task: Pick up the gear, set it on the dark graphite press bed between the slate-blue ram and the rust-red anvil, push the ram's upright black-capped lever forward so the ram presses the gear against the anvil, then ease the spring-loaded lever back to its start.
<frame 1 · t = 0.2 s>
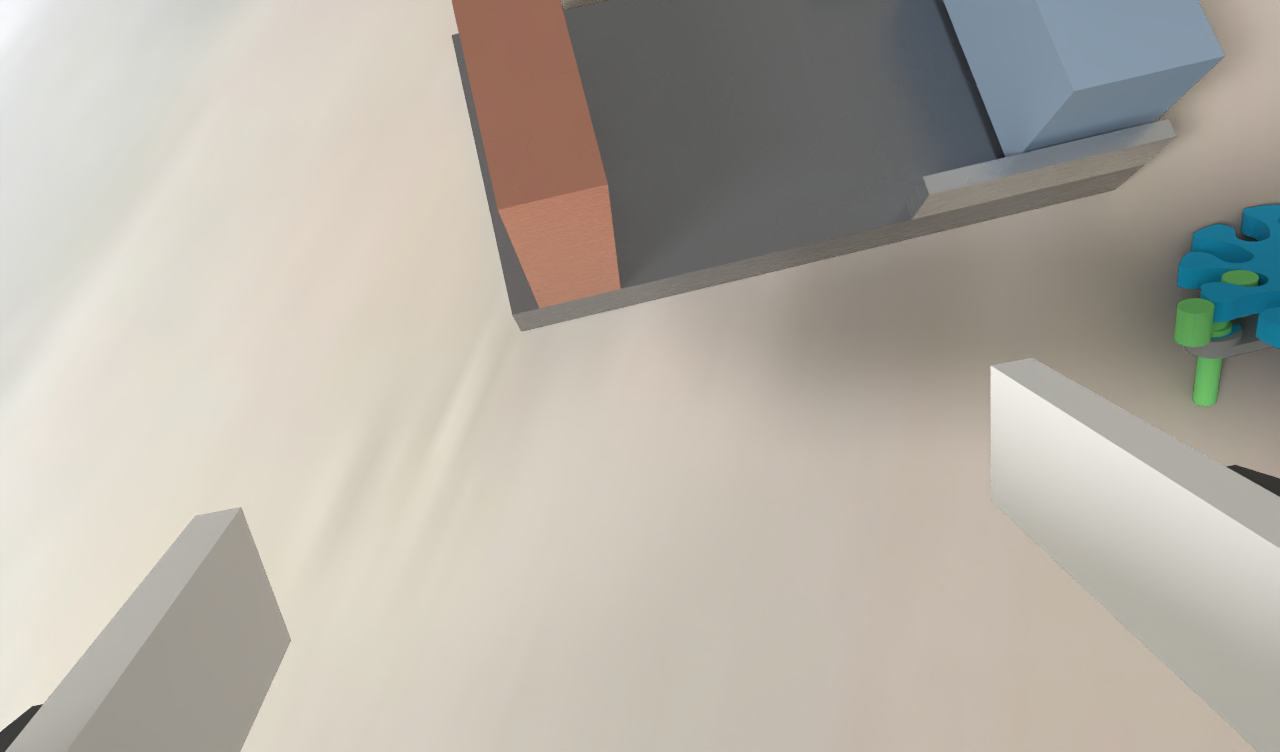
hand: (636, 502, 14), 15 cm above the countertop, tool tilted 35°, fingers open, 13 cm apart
gear: (1256, 312, 31), on the countertop
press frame: (779, 126, 33), on the countertop
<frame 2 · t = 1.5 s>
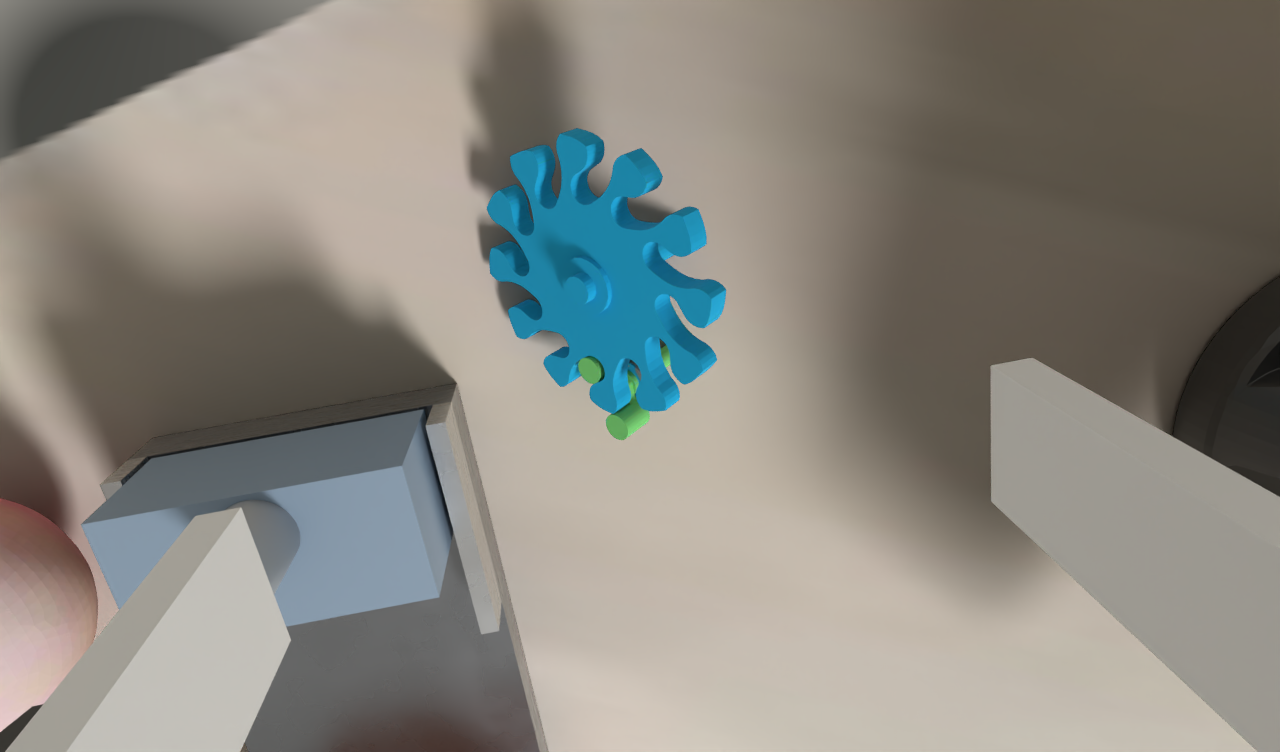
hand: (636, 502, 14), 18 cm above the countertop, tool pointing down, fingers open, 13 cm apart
gear: (594, 270, 32), on the countertop
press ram: (231, 623, 23), point 10 cm above the countertop, slide at 0.0 cm
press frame: (384, 655, 36), on the countertop
decorative fruit: (44, 544, 33), on the countertop
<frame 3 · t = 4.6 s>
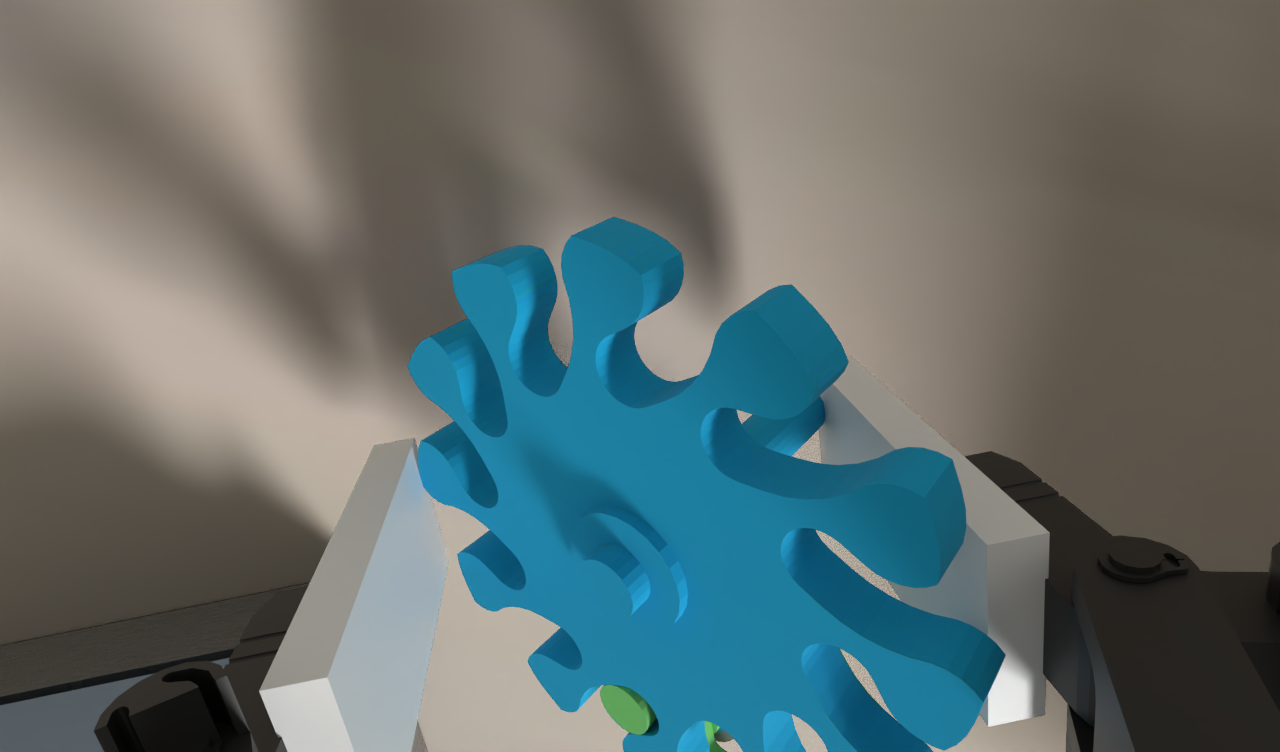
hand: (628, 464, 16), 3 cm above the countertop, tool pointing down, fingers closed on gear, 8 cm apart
gear: (630, 464, 16), point 3 cm above the countertop, touching gripper
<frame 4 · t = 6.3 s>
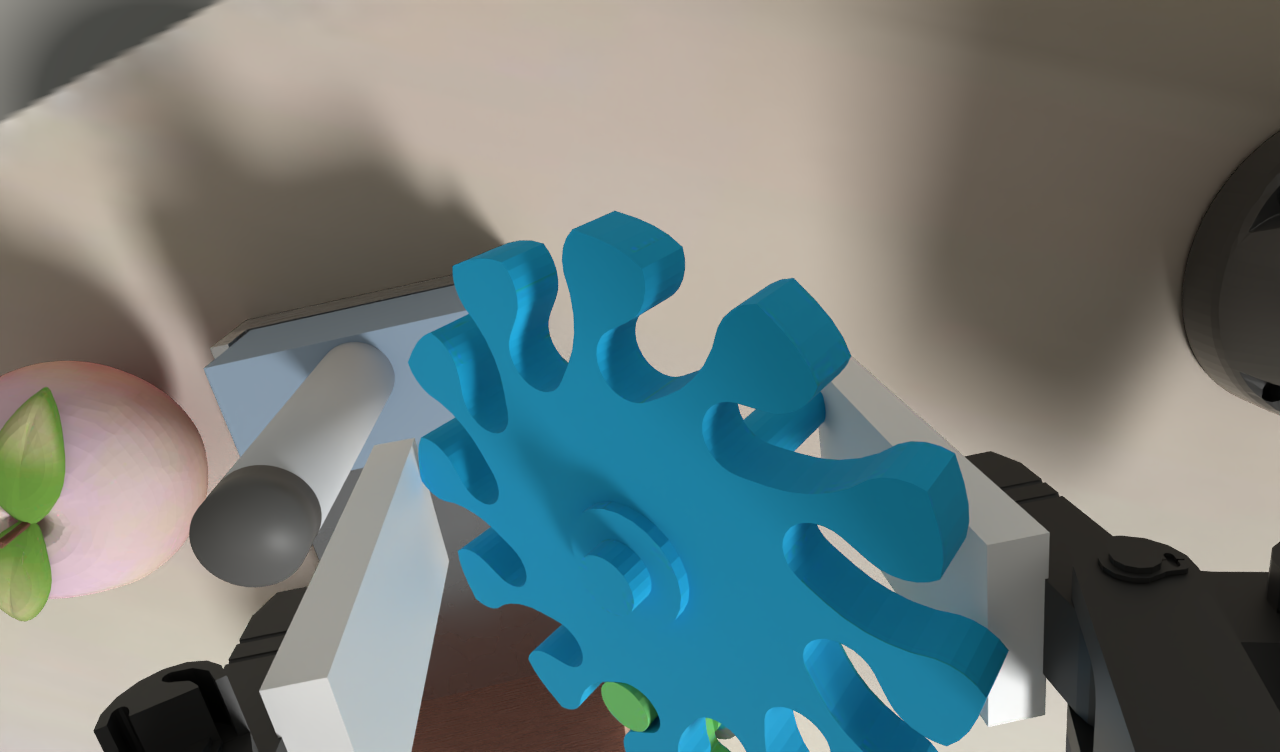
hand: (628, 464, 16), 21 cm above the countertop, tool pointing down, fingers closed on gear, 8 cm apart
gear: (631, 461, 16), point 21 cm above the countertop, touching gripper
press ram: (345, 437, 27), point 10 cm above the countertop, slide at 0.0 cm
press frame: (458, 526, 40), on the countertop
decorative fruit: (150, 425, 37), on the countertop
when the fingers open (3 cm above the countertop, at t = 11.0 s): gear stays where it is, resting on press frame.
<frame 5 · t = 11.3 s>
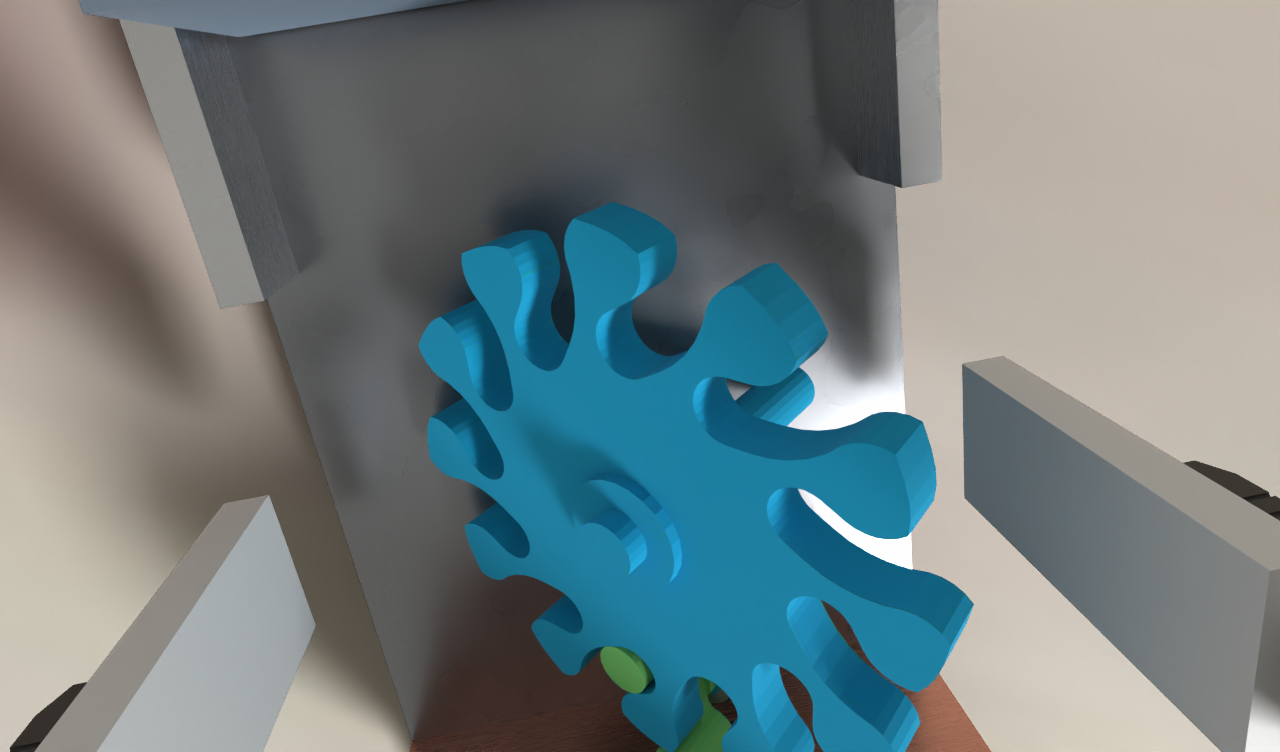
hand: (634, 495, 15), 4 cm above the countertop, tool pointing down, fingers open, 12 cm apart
gear: (628, 441, 17), point 2 cm above the countertop, touching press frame
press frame: (603, 342, 18), on the countertop
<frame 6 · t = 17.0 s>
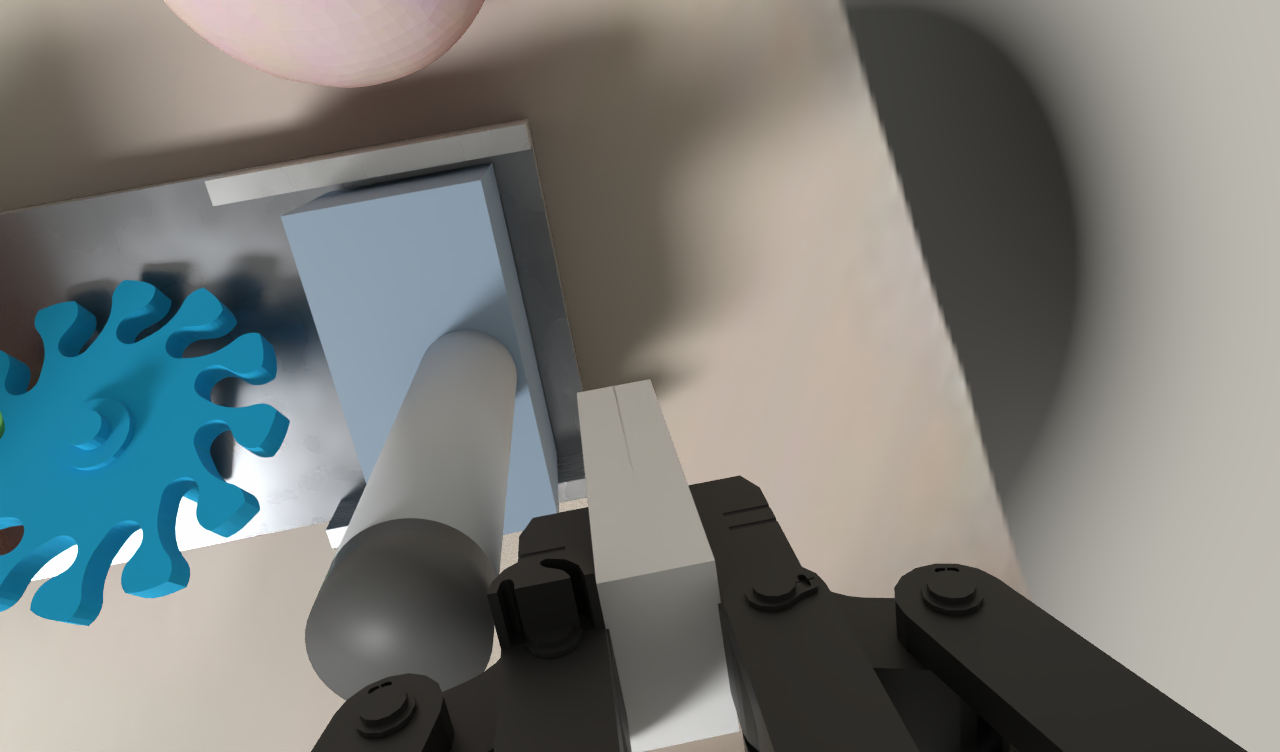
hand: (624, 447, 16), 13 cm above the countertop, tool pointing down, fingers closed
gear: (153, 393, 27), point 2 cm above the countertop, touching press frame
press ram: (414, 430, 19), point 10 cm above the countertop, slide at 1.3 cm, touching gripper
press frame: (222, 357, 28), on the countertop
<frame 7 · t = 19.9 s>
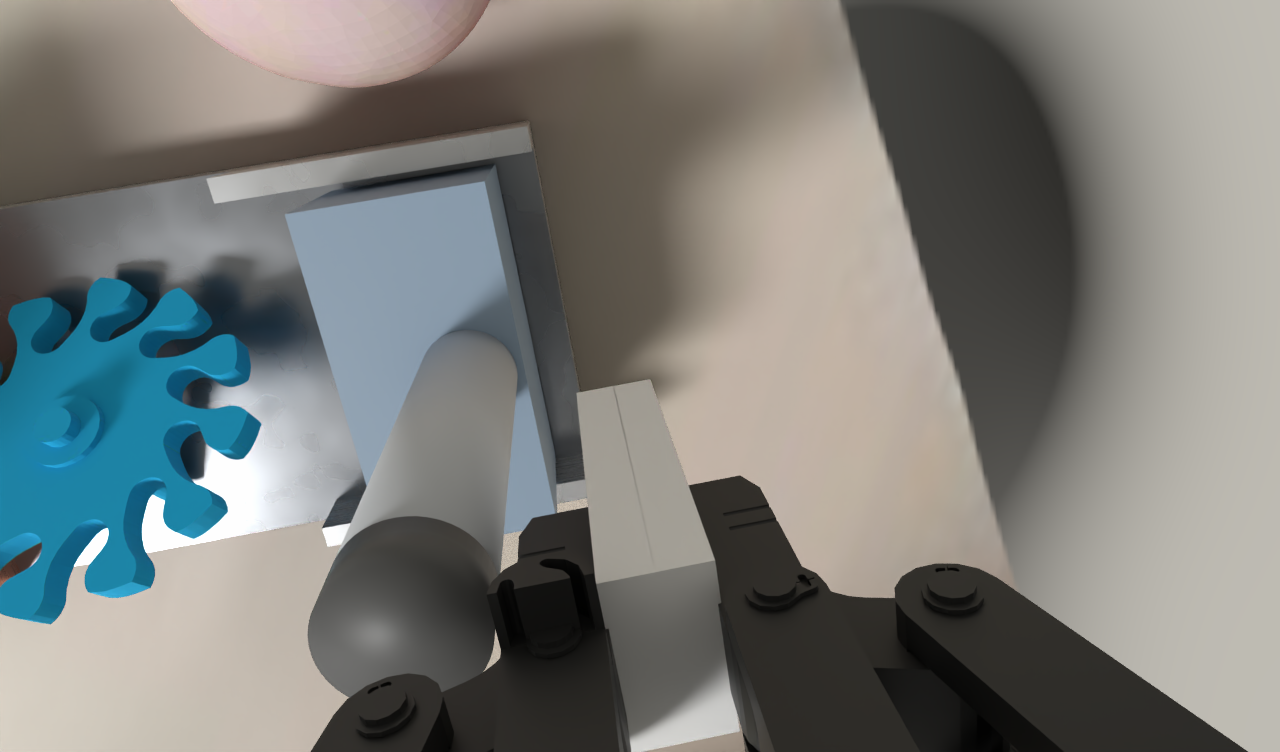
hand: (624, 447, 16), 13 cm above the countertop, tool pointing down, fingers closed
gear: (127, 391, 27), point 2 cm above the countertop, touching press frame
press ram: (415, 429, 19), point 10 cm above the countertop, slide at 1.2 cm, touching gripper
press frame: (221, 354, 28), on the countertop
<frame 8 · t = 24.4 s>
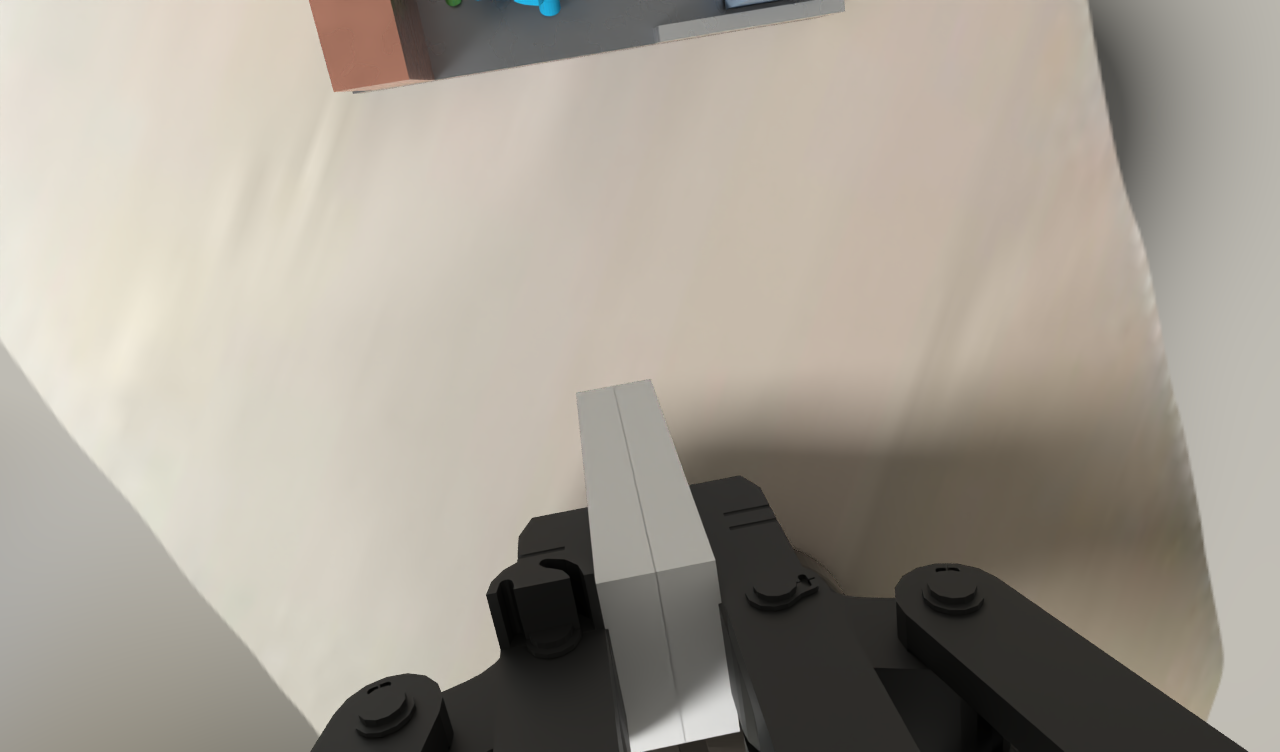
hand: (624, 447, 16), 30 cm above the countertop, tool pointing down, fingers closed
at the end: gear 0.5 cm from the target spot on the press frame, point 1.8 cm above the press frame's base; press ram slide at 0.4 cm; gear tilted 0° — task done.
